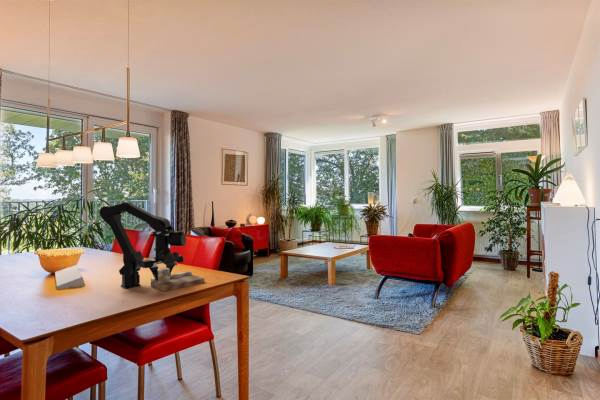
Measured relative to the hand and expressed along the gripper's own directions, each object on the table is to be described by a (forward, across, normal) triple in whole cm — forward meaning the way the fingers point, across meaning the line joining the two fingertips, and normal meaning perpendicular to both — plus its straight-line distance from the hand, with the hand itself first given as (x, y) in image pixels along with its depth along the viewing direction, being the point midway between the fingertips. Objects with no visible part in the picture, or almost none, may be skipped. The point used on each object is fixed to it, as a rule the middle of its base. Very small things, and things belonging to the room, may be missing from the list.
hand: (162, 279), depth 154 cm
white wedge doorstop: (+4, -25, +47) cm, 53 cm away
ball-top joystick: (+1, 0, -3) cm, 3 cm away
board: (+3, +6, -2) cm, 7 cm away
